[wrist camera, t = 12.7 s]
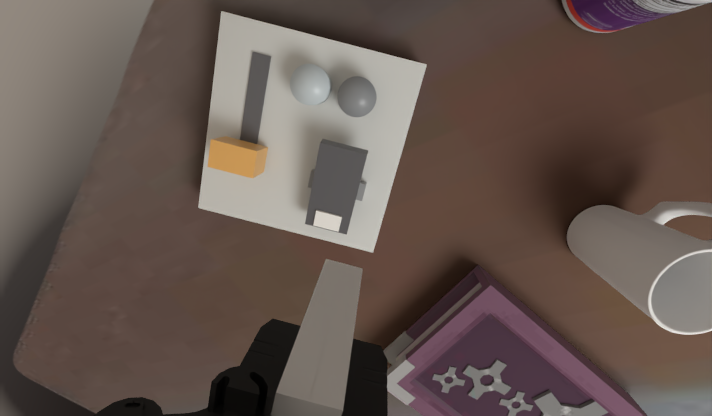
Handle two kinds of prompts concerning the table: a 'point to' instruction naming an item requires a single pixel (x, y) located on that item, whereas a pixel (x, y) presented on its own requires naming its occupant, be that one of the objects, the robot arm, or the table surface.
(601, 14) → the pill bottle
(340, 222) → the dark grey slab
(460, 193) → the table surface
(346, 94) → the button
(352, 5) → the table surface
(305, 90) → the button
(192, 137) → the table surface
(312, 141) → the panel
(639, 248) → the mug
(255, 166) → the slider knob
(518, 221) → the table surface
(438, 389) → the book
